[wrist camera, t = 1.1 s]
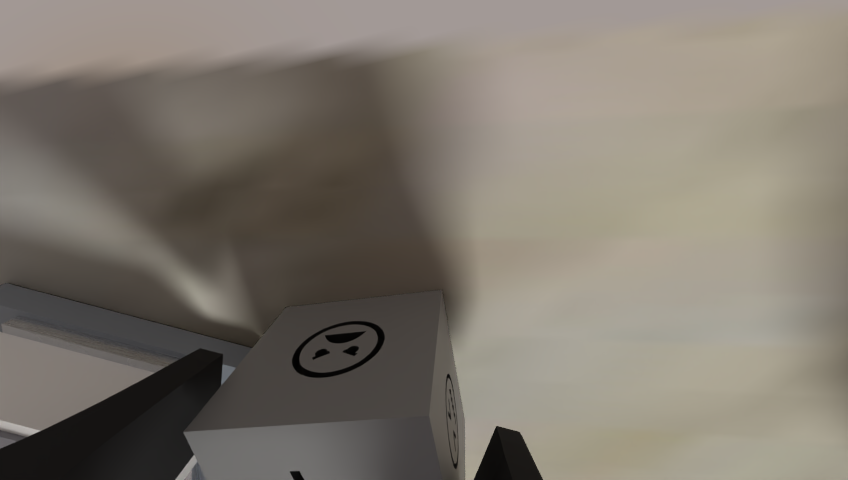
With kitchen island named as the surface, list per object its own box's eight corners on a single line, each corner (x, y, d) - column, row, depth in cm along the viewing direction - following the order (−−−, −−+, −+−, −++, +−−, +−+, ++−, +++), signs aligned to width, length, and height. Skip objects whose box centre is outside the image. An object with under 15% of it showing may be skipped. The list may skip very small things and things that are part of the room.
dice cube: (287, 305, 13) (182, 431, 8) (441, 288, 12) (428, 416, 7) (326, 427, 14) (259, 590, 10) (464, 418, 13) (466, 591, 9)
